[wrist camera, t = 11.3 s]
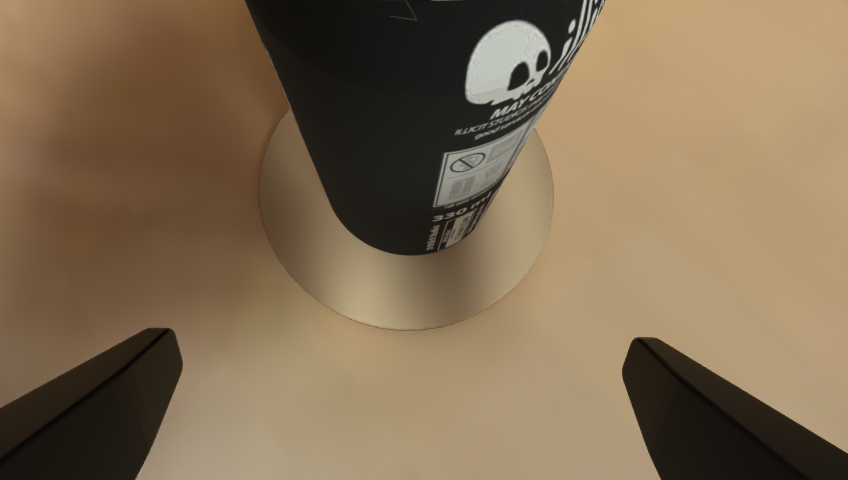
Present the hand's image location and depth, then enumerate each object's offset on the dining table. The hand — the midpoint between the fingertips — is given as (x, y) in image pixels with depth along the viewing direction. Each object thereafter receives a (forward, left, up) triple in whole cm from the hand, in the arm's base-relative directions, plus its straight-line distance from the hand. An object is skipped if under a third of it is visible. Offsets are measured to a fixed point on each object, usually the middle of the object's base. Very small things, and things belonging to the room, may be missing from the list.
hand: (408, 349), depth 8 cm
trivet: (+3, +6, -8) cm, 11 cm away
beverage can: (+3, +6, -7) cm, 10 cm away
